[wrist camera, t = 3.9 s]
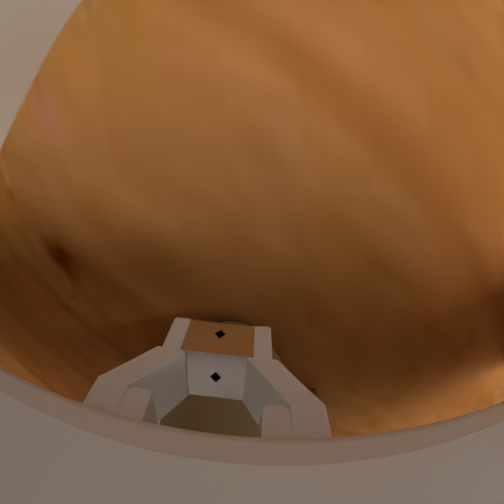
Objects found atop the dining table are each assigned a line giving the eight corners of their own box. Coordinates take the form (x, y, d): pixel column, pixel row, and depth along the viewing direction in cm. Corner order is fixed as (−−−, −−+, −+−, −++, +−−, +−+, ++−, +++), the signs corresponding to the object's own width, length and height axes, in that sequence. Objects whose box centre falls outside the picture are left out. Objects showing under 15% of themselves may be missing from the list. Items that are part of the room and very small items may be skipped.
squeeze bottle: (239, 397, 24) (223, 590, 7) (163, 348, 22) (85, 556, 5) (306, 346, 21) (344, 585, 4) (225, 284, 20) (161, 585, 3)
